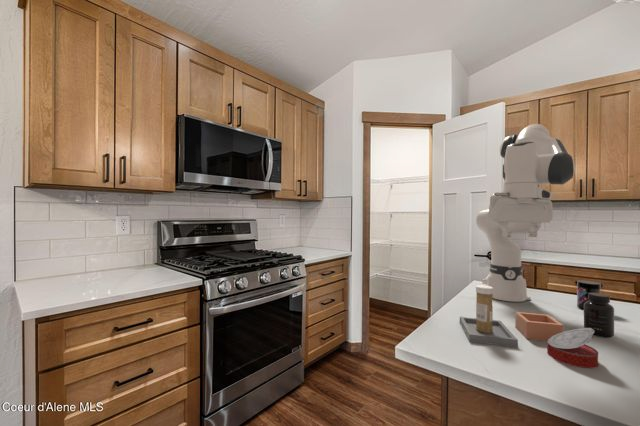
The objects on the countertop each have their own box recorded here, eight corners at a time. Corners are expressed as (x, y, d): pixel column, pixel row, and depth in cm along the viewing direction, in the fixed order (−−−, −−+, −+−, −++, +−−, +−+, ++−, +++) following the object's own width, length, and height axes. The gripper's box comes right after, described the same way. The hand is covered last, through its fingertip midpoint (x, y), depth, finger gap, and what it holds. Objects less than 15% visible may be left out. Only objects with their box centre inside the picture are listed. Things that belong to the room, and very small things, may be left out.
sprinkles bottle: (496, 333, 88) (496, 287, 88) (483, 334, 87) (483, 288, 87) (484, 327, 92) (485, 284, 92) (472, 328, 91) (472, 284, 91)
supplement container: (579, 305, 119) (579, 279, 119) (602, 309, 114) (602, 282, 114) (574, 308, 115) (574, 281, 115) (597, 313, 110) (598, 285, 110)
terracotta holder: (515, 327, 94) (515, 311, 94) (548, 330, 92) (548, 314, 92) (526, 338, 86) (526, 321, 86) (563, 343, 83) (563, 325, 83)
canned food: (586, 388, 70) (581, 356, 67) (540, 363, 79) (534, 335, 76) (612, 359, 73) (607, 328, 70) (564, 339, 82) (559, 310, 79)
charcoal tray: (459, 322, 98) (459, 316, 98) (500, 327, 95) (500, 320, 95) (469, 341, 84) (469, 334, 84) (517, 347, 80) (517, 339, 80)
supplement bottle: (584, 327, 95) (584, 290, 95) (614, 333, 90) (614, 294, 90) (582, 333, 90) (583, 294, 90) (614, 340, 86) (614, 299, 86)
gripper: (498, 191, 88) (497, 237, 88) (557, 193, 91) (556, 237, 91) (483, 193, 94) (483, 236, 94) (539, 194, 98) (538, 236, 98)
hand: (519, 237), depth 93 cm, fingers open, 8 cm apart
